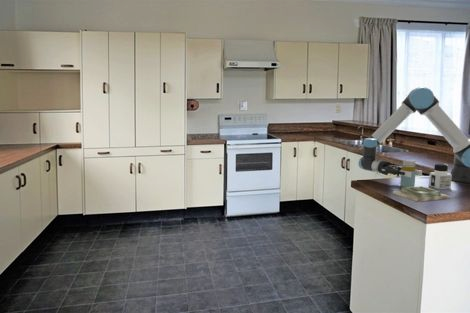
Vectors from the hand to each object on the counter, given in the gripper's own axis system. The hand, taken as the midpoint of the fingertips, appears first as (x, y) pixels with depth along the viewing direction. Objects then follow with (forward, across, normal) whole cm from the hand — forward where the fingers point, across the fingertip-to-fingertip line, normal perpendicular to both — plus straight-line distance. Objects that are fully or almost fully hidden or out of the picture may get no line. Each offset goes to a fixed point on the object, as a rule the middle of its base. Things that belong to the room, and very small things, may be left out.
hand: (416, 174), depth 199 cm
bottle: (-5, 0, -9) cm, 10 cm away
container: (+2, -17, -9) cm, 19 cm away
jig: (+10, +9, -8) cm, 16 cm away
